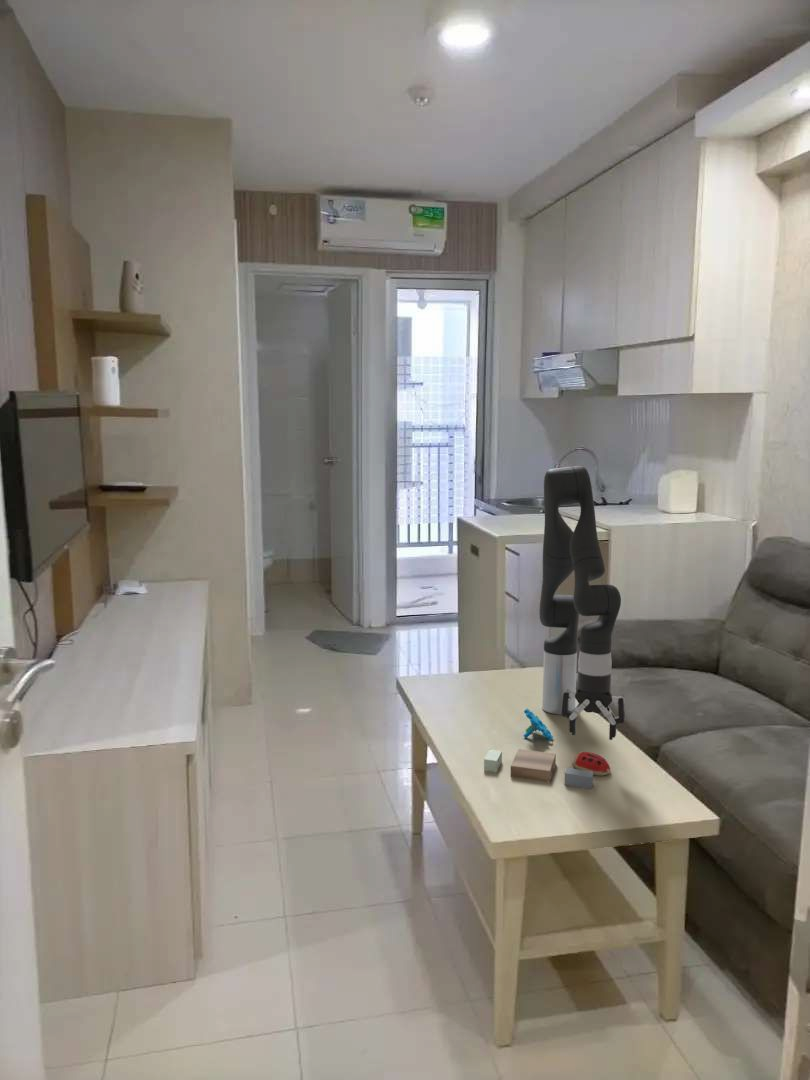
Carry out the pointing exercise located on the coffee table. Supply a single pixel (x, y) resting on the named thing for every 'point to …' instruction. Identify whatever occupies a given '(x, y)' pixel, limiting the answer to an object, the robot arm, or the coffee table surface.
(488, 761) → the sage brick
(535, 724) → the gear
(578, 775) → the slate brick
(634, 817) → the coffee table surface
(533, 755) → the walnut block
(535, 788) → the coffee table surface
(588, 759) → the ladybug figurine
